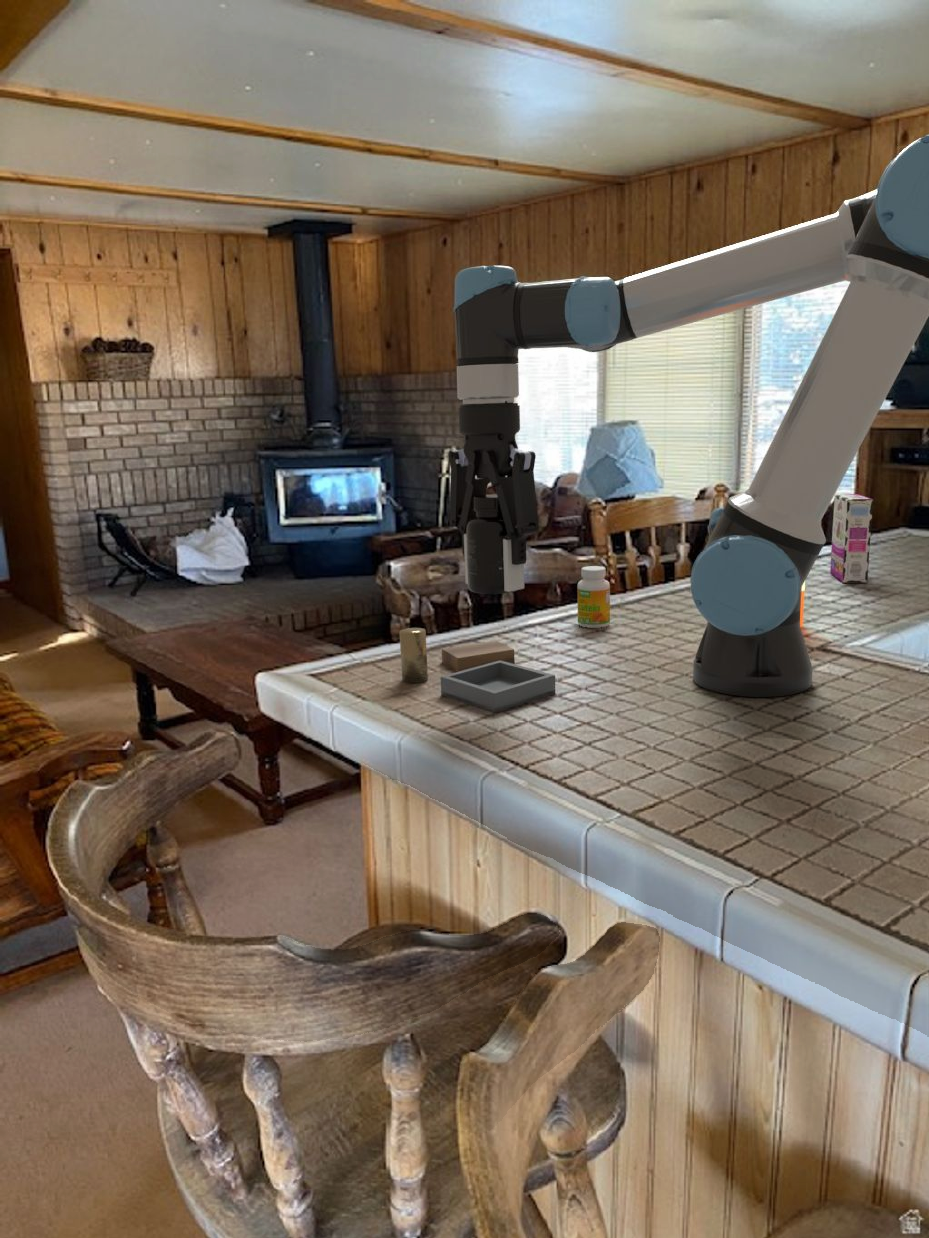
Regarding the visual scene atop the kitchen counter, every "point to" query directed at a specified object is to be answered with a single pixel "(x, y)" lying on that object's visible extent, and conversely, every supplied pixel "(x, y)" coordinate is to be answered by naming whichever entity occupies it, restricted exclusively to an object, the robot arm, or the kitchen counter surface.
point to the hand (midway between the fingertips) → (494, 585)
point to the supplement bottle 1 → (486, 546)
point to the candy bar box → (851, 538)
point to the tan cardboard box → (476, 655)
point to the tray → (497, 685)
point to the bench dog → (413, 655)
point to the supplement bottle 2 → (593, 598)
